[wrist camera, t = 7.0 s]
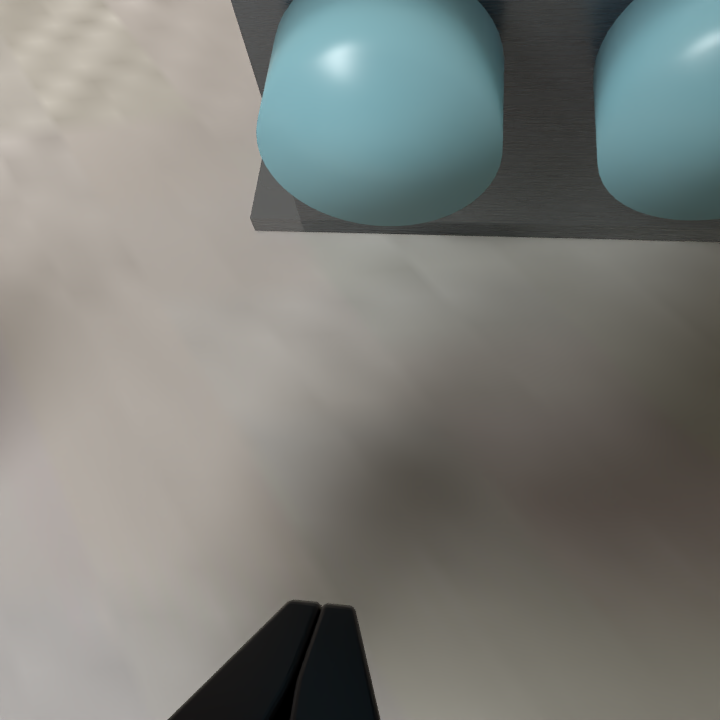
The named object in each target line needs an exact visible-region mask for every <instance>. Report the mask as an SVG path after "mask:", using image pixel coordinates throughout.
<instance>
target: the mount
mask: <svg viewBox="0 0 720 720" xmlns="http://www.w3.org/2000/svg"><path fill="white" fill-rule="evenodd" d="M292 1H293V0H231V2H232V5H233V9H234V12H235V15H236V18H237V21H238V24H239V27H240V31H241V34H242V37H243V40H244V43H245V46H246V49H247V53H248V56H249V59H250V62H251V65H252V68H253V72H254V75H255V78H256V81H257V84H258V87H259V90H260V94H261V97H263V92H264V87H265V82H266V77H267V73H268V68H269V63H270V58H271V54H272V49H273V44H274V39H275V35H276V32H277V28H278V25H279V23H280V21H281V19H282V16H283V14H284V12H285V11H286V10H287V8H288V7H289V5H290V4H291V2H292ZM478 1H479V3H480V4H481V5H482V6H483V7H484V8H485V9H486V11H487V12H488V14H489V15H490V17H491V18H492V20H493V22H494V24H495V26H496V28H497V30H498V32H499V35H500V38H501V42H502V45H503V53H504V103H503V151H502V159H501V163H500V167H499V169H498V171H497V174H496V176H495V178H494V179H493V181H492V182H491V184H490V185H489V187H488V188H487V189H486V190H485V191H484V192H483V193H482V194H481V195H480V196H479V197H478V198H477V199H475V200H474V201H473V202H472V203H470V204H469V205H467V206H466V207H464V208H462V209H461V210H459V211H457V212H455V213H453V214H451V215H448V216H445V217H443V218H440V219H437V220H433V221H429V222H425V223H420V224H414V225H405V226H374V225H366V224H359V223H354V222H350V221H345V220H342V219H339V218H335V217H332V216H330V215H327V214H325V213H322V212H320V211H318V210H316V209H314V208H312V207H310V206H308V205H306V204H305V203H303V202H301V201H300V200H298V199H297V198H295V197H294V196H293V195H291V194H290V193H289V192H288V191H286V190H285V189H284V188H283V187H282V186H281V185H280V184H279V183H278V182H277V181H276V179H275V178H274V177H273V176H272V175H271V173H270V172H269V170H268V168H267V167H266V165H265V164H264V161H263V159H262V162H261V167H260V172H259V177H258V182H257V187H256V192H255V197H254V202H253V207H252V212H251V217H250V219H251V221H252V224H253V226H254V228H255V230H259V231H300V232H341V233H382V234H423V235H464V236H505V237H547V238H588V239H629V240H670V241H711V242H720V219H712V220H673V219H666V218H659V217H655V216H651V215H647V214H644V213H641V212H638V211H635V210H633V209H631V208H629V207H627V206H625V205H624V204H622V203H621V202H619V201H618V200H617V199H615V198H614V197H613V196H612V195H611V194H610V193H609V192H608V190H607V189H606V187H605V186H604V184H603V183H602V180H601V178H600V175H599V170H598V164H597V146H596V127H595V109H594V91H593V70H594V65H595V60H596V57H597V54H598V51H599V48H600V46H601V44H602V42H603V40H604V38H605V36H606V34H607V32H608V31H609V29H610V28H611V26H612V25H613V24H614V22H615V21H616V19H617V18H618V17H619V16H620V14H621V13H622V12H623V11H624V10H625V9H626V8H627V6H628V5H629V4H630V3H631V2H632V1H633V0H478Z"/></svg>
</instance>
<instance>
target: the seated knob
mask: <svg viewBox="0 0 720 720" xmlns="http://www.w3.org/2000/svg"><path fill="white" fill-rule="evenodd" d="M593 91H594V109H595V127H596V146H597V164H598V170H599V175H600V178H601V180H602V183H603V184H604V186H605V187H606V189H607V190H608V192H609V193H610V194H611V195H612V196H613V197H614V198H615V199H617V200H618V201H619V202H621V203H622V204H624V205H625V206H627V207H629V208H631V209H633V210H635V211H638V212H641V213H644V214H647V215H651V216H655V217H659V218H666V219H673V220H712V219H720V0H633V1H632V2H631V3H630V4H629V5H628V6H627V8H626V9H625V10H624V11H623V12H622V13H621V14H620V16H619V17H618V18H617V19H616V21H615V22H614V24H613V25H612V26H611V28H610V29H609V31H608V32H607V34H606V36H605V38H604V40H603V42H602V44H601V46H600V48H599V51H598V54H597V57H596V60H595V65H594V70H593Z"/></svg>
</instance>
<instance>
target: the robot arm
mask: <svg viewBox="0 0 720 720" xmlns="http://www.w3.org/2000/svg"><path fill="white" fill-rule="evenodd" d="M168 720H380V716H379V711H378V707H377V703H376V698H375V694H374V689H373V685H372V681H371V676H370V672H369V667H368V663H367V659H366V654H365V650H364V646H363V641H362V637H361V632H360V628H359V624H358V619H357V615H356V611H355V609H354V607H352V606H348V605H339V604H330V603H327V604H325V605H323V607H322V606H321V605H320V604H319V603H318V602H311V601H301V600H291V601H289V602H287V603H286V604H285V605H284V606H283V607H282V608H281V609H280V610H279V611H278V612H277V613H276V614H275V615H274V616H273V617H272V618H271V619H270V620H269V621H268V622H267V623H266V624H265V625H264V626H263V627H262V628H261V629H260V630H259V631H258V632H257V633H256V634H255V635H254V636H253V637H252V638H251V639H250V640H249V641H247V642H246V643H245V644H244V645H243V646H242V647H241V648H240V649H239V650H238V651H237V652H236V653H235V654H234V655H233V656H232V657H231V658H230V659H229V660H228V661H227V662H226V663H225V664H224V665H223V666H222V667H221V668H220V669H219V670H218V671H217V672H216V673H215V674H214V675H213V676H212V677H211V678H210V679H209V680H208V681H207V682H206V683H205V684H204V685H203V686H202V687H201V688H200V689H199V690H197V691H196V692H195V693H194V694H193V695H192V696H191V697H190V698H189V699H188V700H187V701H186V702H185V703H184V704H183V705H182V706H181V707H180V708H179V709H178V710H177V711H176V712H175V713H174V714H173V715H172V716H171V717H170V718H169V719H168Z"/></svg>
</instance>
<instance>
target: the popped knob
mask: <svg viewBox="0 0 720 720" xmlns="http://www.w3.org/2000/svg"><path fill="white" fill-rule="evenodd" d="M503 103H504V53H503V45H502V42H501V38H500V35H499V32H498V30H497V28H496V26H495V24H494V22H493V20H492V18H491V17H490V15H489V14H488V12H487V11H486V9H485V8H484V7H483V6H482V5H481V4H480V3H479V1H478V0H293V1H292V2H291V4H290V5H289V7H288V8H287V10H286V11H285V12H284V14H283V16H282V19H281V21H280V23H279V25H278V28H277V32H276V35H275V39H274V44H273V49H272V54H271V58H270V63H269V68H268V73H267V77H266V82H265V87H264V92H263V97H262V101H261V106H260V111H259V116H258V120H257V130H256V134H257V144H258V148H259V151H260V155H261V157H262V159H263V161H264V164H265V165H266V167H267V168H268V170H269V172H270V173H271V175H272V176H273V177H274V178H275V179H276V181H277V182H278V183H279V184H280V185H281V186H282V187H283V188H284V189H285V190H286V191H288V192H289V193H290V194H291V195H293V196H294V197H295V198H297V199H298V200H300V201H301V202H303V203H305V204H306V205H308V206H310V207H312V208H314V209H316V210H318V211H320V212H322V213H325V214H327V215H330V216H332V217H335V218H339V219H342V220H345V221H350V222H354V223H359V224H366V225H374V226H405V225H414V224H420V223H425V222H429V221H433V220H437V219H440V218H443V217H445V216H448V215H451V214H453V213H455V212H457V211H459V210H461V209H462V208H464V207H466V206H467V205H469V204H470V203H472V202H473V201H474V200H475V199H477V198H478V197H479V196H480V195H481V194H482V193H483V192H484V191H485V190H486V189H487V188H488V187H489V185H490V184H491V182H492V181H493V179H494V178H495V176H496V174H497V171H498V169H499V167H500V163H501V159H502V151H503Z"/></svg>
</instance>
